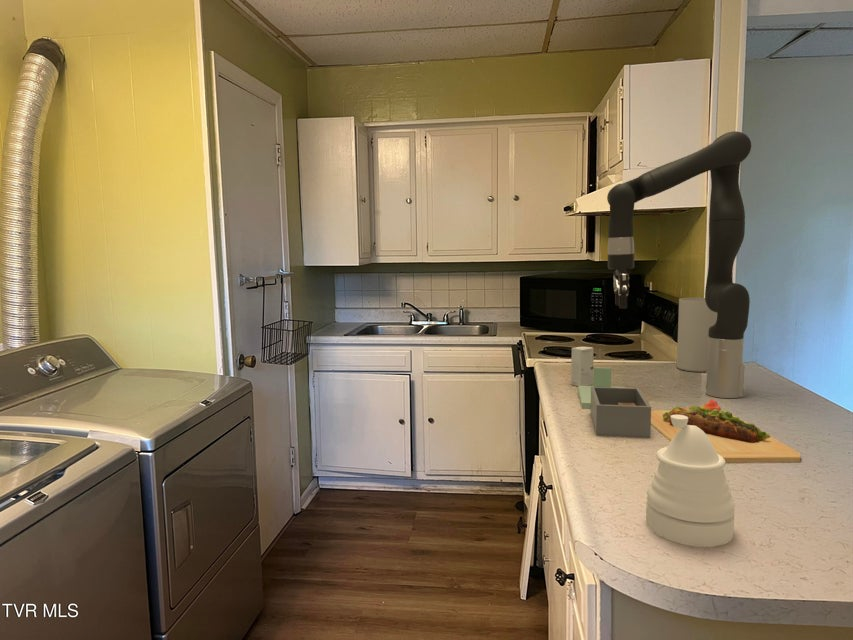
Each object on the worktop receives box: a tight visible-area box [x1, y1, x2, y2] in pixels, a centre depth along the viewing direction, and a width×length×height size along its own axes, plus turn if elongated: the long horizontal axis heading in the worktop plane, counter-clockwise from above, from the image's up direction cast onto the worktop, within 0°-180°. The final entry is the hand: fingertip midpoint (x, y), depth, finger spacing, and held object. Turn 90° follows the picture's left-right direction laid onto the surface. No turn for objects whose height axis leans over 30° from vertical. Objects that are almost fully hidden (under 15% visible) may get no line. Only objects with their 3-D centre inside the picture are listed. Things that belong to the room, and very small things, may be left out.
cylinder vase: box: [676, 297, 717, 373], centre depth 208 cm, size 12×12×25 cm
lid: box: [577, 366, 627, 410], centre depth 167 cm, size 14×20×8 cm
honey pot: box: [645, 415, 736, 548], centre depth 93 cm, size 13×13×18 cm
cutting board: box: [651, 398, 802, 464], centre depth 138 cm, size 35×23×8 cm
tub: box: [589, 386, 652, 439], centre depth 144 cm, size 12×18×8 cm, turn 169°
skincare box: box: [570, 346, 595, 387], centre depth 189 cm, size 6×4×12 cm
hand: (621, 306), depth 177 cm, fingers open, 8 cm apart
